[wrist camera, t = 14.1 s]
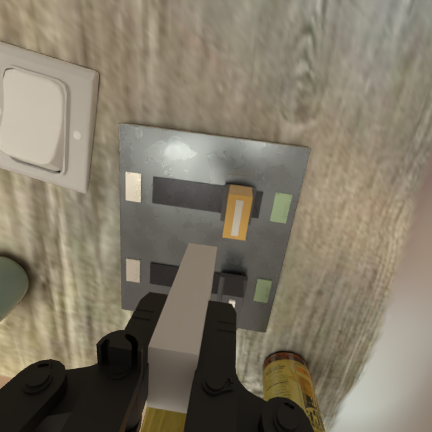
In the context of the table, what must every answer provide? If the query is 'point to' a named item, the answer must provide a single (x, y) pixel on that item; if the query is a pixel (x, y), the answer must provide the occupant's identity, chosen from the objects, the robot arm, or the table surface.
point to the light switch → (46, 117)
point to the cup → (11, 285)
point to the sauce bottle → (292, 384)
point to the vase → (163, 421)
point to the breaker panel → (204, 210)
